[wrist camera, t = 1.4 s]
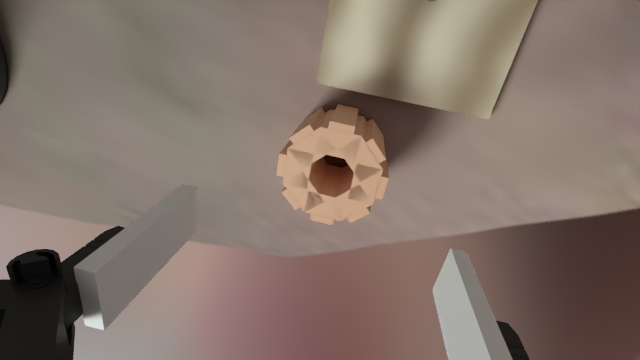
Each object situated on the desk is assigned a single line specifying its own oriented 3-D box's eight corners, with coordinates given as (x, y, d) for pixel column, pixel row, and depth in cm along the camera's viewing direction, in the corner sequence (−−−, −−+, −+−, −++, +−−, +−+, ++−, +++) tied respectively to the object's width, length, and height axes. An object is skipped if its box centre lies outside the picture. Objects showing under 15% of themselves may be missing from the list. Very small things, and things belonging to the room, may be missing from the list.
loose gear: (289, 180, 31) (271, 210, 25) (302, 96, 27) (285, 111, 22) (371, 199, 30) (371, 234, 25) (395, 116, 27) (401, 136, 21)
